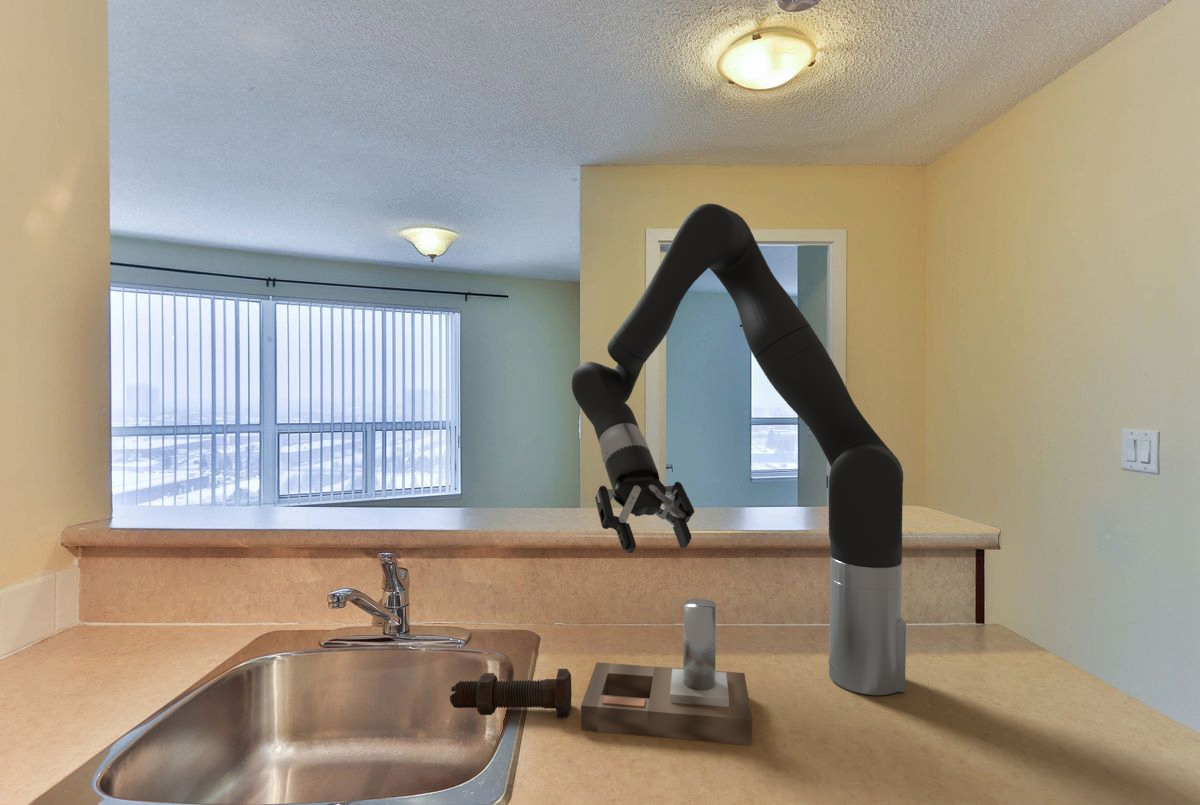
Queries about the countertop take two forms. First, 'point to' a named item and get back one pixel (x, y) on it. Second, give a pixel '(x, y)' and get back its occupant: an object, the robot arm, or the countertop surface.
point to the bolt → (514, 694)
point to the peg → (699, 644)
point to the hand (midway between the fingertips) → (659, 547)
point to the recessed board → (666, 705)
